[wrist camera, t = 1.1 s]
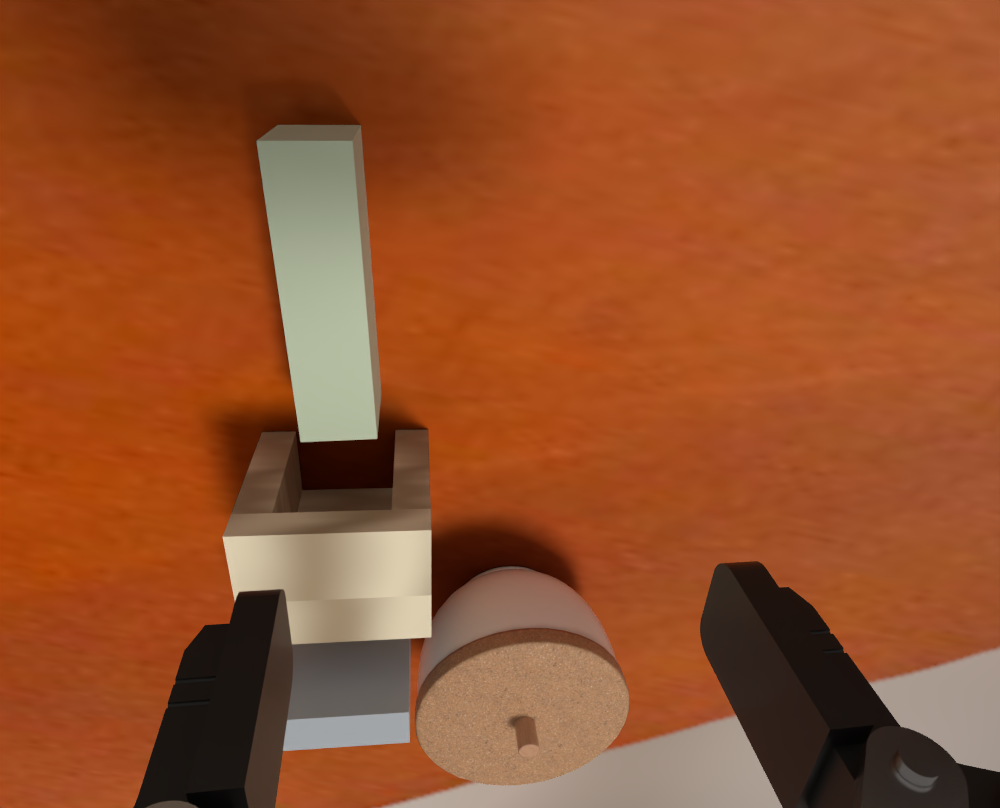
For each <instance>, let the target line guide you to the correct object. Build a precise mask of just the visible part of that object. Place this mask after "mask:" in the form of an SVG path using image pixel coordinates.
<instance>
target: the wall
mask: <svg viewBox="0 0 1000 808" xmlns="http://www.w3.org/2000/svg"><path fill="white" fill-rule="evenodd" d="M292 649H293V680H292V689H291V696H290V703H289V710H288V718H287V725H286V732H285V739H284V746H283V751H289V750H304V749H319V748H333V747H348V746H363V745H378V744H392V743H407V742H410V638H408V639H388V640H369V641H349V642H329V643H309V644H292Z"/></svg>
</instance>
